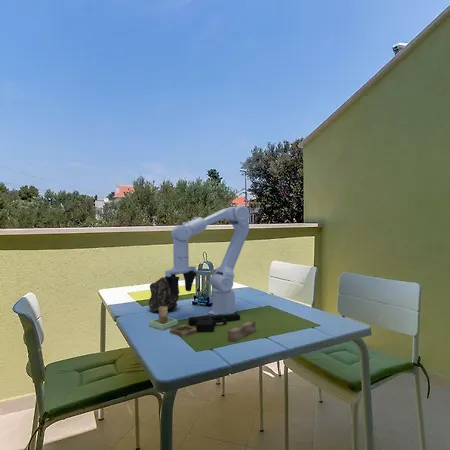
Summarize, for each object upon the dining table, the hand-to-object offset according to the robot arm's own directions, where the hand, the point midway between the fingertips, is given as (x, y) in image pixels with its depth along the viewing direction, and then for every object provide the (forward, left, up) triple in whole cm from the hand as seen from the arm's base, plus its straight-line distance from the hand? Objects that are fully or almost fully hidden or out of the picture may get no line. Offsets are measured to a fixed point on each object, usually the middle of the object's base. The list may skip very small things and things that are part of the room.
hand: (181, 292), depth 120 cm
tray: (+10, +1, -10) cm, 14 cm away
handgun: (-2, +16, -10) cm, 19 cm away
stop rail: (+2, +29, -10) cm, 30 cm away
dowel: (+10, +1, -9) cm, 14 cm away
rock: (-5, -15, -10) cm, 19 cm away
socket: (+11, +12, -10) cm, 19 cm away
